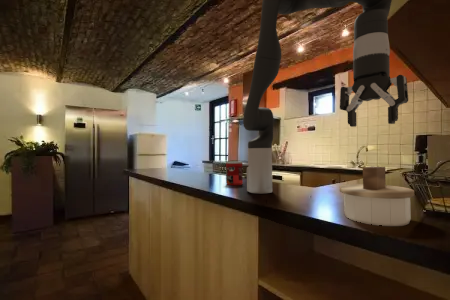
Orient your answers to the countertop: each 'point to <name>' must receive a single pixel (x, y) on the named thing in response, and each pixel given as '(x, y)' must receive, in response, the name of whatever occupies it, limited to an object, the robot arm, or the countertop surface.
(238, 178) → the canned food
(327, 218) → the countertop surface
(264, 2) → the robot arm
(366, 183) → the oak lid
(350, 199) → the cream bowl
